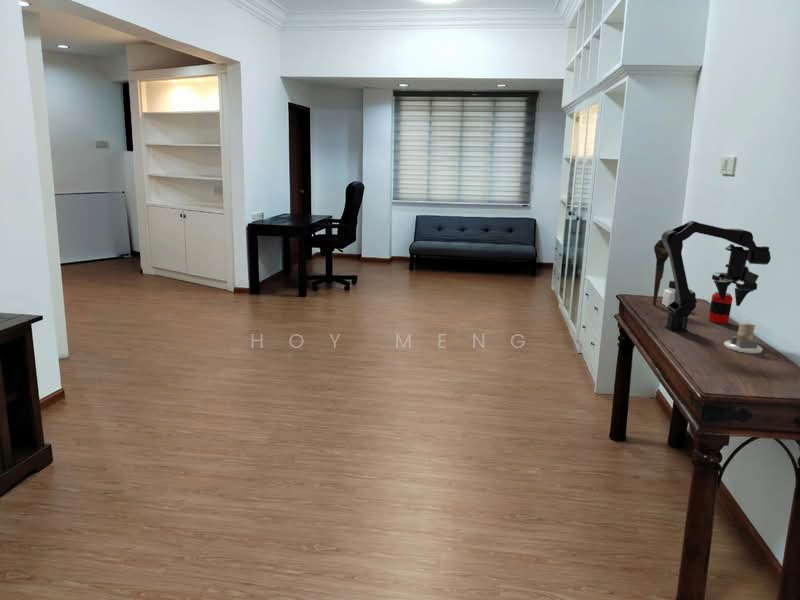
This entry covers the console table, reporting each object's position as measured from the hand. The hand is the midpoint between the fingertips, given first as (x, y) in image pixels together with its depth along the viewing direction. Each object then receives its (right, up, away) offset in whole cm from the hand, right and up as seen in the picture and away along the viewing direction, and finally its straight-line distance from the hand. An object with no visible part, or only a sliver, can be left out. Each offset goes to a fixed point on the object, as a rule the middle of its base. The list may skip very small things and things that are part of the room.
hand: (730, 302), depth 231 cm
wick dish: (-4, -16, -16) cm, 23 cm away
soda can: (+6, -8, +19) cm, 22 cm away
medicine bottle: (-3, -2, +42) cm, 42 cm away
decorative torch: (-11, -1, +43) cm, 44 cm away
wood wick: (-4, -15, -16) cm, 23 cm away
